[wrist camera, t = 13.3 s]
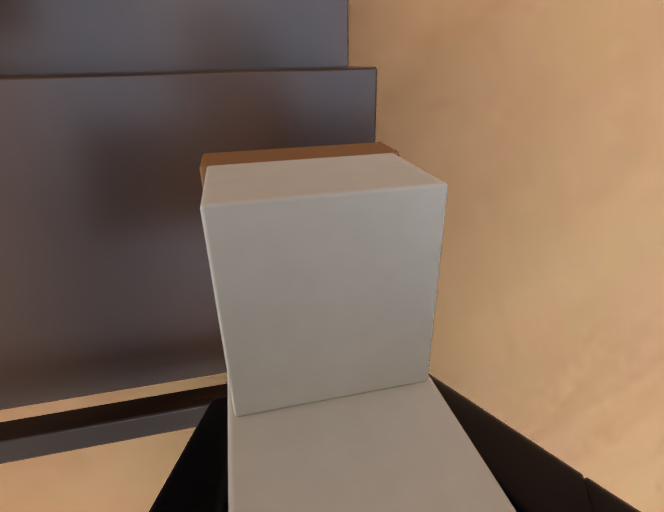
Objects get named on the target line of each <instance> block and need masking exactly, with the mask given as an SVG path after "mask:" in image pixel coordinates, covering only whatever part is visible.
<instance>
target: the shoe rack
mask: <svg viewBox="0 0 664 512" xmlns="http://www.w3.org/2000/svg"><path fill="white" fill-rule="evenodd" d="M376 90H377V68H376V67H360V66H348V0H0V410H3V409H9V408H15V407H21V406H27V405H33V404H39V403H45V402H51V401H57V400H63V399H69V398H75V397H81V396H87V395H93V394H99V393H105V392H111V391H117V390H123V389H129V388H135V387H141V386H147V385H153V384H159V383H165V382H171V381H177V380H183V379H189V378H196V377H202V376H208V375H214V374H220V373H226V372H227V367H226V361H225V355H224V349H223V343H222V337H221V331H220V325H219V319H218V313H217V307H216V301H215V295H214V289H213V283H212V277H211V271H210V265H209V259H208V253H207V247H206V241H205V235H204V229H203V223H202V217H201V211H200V205H201V199H202V194H203V187H202V181H201V174H200V165H201V160H202V156H203V154H205V153H219V152H235V151H250V150H265V149H281V148H296V147H312V146H327V145H343V144H358V143H373V142H375V132H376ZM225 395H228V384H222V385H216V386H210V387H204V388H198V389H193V390H187V391H181V392H175V393H169V394H164V395H158V396H152V397H146V398H140V399H134V400H129V401H123V402H117V403H111V404H105V405H99V406H94V407H88V408H82V409H76V410H70V411H64V412H59V413H53V414H47V415H41V416H35V417H29V418H24V419H18V420H12V421H6V422H0V464H2V463H8V462H13V461H18V460H24V459H29V458H34V457H39V456H45V455H50V454H55V453H61V452H66V451H71V450H76V449H82V448H87V447H92V446H98V445H103V444H108V443H113V442H119V441H124V440H129V439H135V438H140V437H145V436H151V435H156V434H161V433H166V432H172V431H177V430H182V429H188V428H193V427H197V426H198V424H199V422H200V420H201V419H202V417H203V415H204V413H205V411H206V410H207V408H208V406H209V404H210V403H211V401H212V400H213V399H214V398H215V397H220V396H225Z"/></svg>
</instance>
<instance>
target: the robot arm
mask: <svg viewBox="0 0 664 512" xmlns="http://www.w3.org/2000/svg"><path fill="white" fill-rule="evenodd" d="M428 375H429V377H430V378H431V380H432V381H433V383H434V384H435V386H436V387H437V389H438V391H439V392H440V394H441V395H442V397H443V398H444V400H445V401H446V403H447V405H448V406H449V408H450V409H451V411H452V412H453V414H454V415H455V417H456V419H457V420H458V422H459V423H460V425H461V426H462V428H463V429H464V431H465V433H466V434H467V436H468V437H469V439H470V440H471V442H472V443H473V445H474V447H475V448H476V450H477V451H478V453H479V454H480V456H481V457H482V459H483V461H484V462H485V464H486V465H487V467H488V468H489V470H490V471H491V473H492V475H493V476H494V478H495V479H496V481H497V482H498V484H499V485H500V487H501V489H502V490H503V492H504V493H505V495H506V496H507V498H508V499H509V501H510V503H511V504H512V506H513V507H514V509H515V510H516V512H640V511H639V510H637V509H636V508H634V507H632V506H631V505H629V504H628V503H626V502H624V501H623V500H621V499H620V498H618V497H617V496H615V495H613V494H612V493H610V492H609V491H607V490H606V489H604V488H603V487H601V486H600V485H598V484H597V483H595V482H593V481H592V480H590V479H589V478H584V477H583V475H582V474H581V473H579V472H578V471H576V470H575V469H573V468H572V467H570V466H569V465H567V464H566V463H564V462H563V461H561V460H560V459H558V458H557V457H555V456H554V455H552V454H550V453H549V452H547V451H546V450H544V449H543V448H541V447H540V446H538V445H537V444H535V443H534V442H532V441H531V440H529V439H528V438H526V437H525V436H523V435H522V434H520V433H518V432H517V431H515V430H514V429H512V428H511V427H509V426H508V425H506V424H505V423H503V422H502V421H500V420H499V419H497V418H496V417H494V416H493V415H491V414H489V413H488V412H486V411H485V410H483V409H482V408H480V407H479V406H477V405H476V404H474V403H473V402H471V401H470V400H468V399H467V398H465V397H464V396H462V395H460V394H459V393H457V392H456V391H454V390H453V389H451V388H450V387H448V386H447V385H445V384H444V383H442V382H441V381H439V380H438V379H436V378H435V377H433V376H432V375H430V374H428ZM149 512H228V395H225V396H220V397H215V398H214V399H213V400H212V401H211V403H210V404H209V406H208V408H207V410H206V411H205V413H204V415H203V417H202V419H201V420H200V422H199V424H198V426H197V427H196V429H195V431H194V433H193V435H192V436H191V438H190V440H189V442H188V443H187V445H186V447H185V449H184V450H183V452H182V454H181V456H180V458H179V459H178V461H177V463H176V465H175V466H174V468H173V470H172V472H171V474H170V475H169V477H168V479H167V481H166V482H165V484H164V486H163V488H162V489H161V491H160V493H159V495H158V497H157V498H156V500H155V502H154V504H153V505H152V507H151V509H150V511H149Z"/></svg>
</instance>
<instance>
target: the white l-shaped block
mask: <svg viewBox="0 0 664 512" xmlns="http://www.w3.org/2000/svg"><path fill="white" fill-rule="evenodd" d="M200 174H201V181H202V187H203V194H202V199H201V205H200V211H201V217H202V223H203V229H204V235H205V241H206V247H207V253H208V259H209V265H210V271H211V277H212V283H213V289H214V295H215V301H216V307H217V313H218V319H219V325H220V331H221V337H222V343H223V349H224V355H225V361H226V367H227V377H228V512H516V510H515V509H514V507H513V506H512V504H511V503H510V501H509V499H508V498H507V496H506V495H505V493H504V492H503V490H502V489H501V487H500V485H499V484H498V482H497V481H496V479H495V478H494V476H493V475H492V473H491V471H490V470H489V468H488V467H487V465H486V464H485V462H484V461H483V459H482V457H481V456H480V454H479V453H478V451H477V450H476V448H475V447H474V445H473V443H472V442H471V440H470V439H469V437H468V436H467V434H466V433H465V431H464V429H463V428H462V426H461V425H460V423H459V422H458V420H457V419H456V417H455V415H454V414H453V412H452V411H451V409H450V408H449V406H448V405H447V403H446V401H445V400H444V398H443V397H442V395H441V394H440V392H439V391H438V389H437V387H436V386H435V384H434V383H433V381H432V380H431V378H430V377H429V375H428V370H429V361H430V351H431V341H432V332H433V322H434V313H435V303H436V294H437V284H438V275H439V265H440V255H441V246H442V236H443V227H444V217H445V208H446V198H447V189H448V186H447V183H446V182H444V181H442V180H440V179H438V178H437V177H435V176H433V175H431V174H429V173H428V172H426V171H424V170H422V169H421V168H419V167H417V166H415V165H413V164H412V163H410V162H408V161H406V160H404V159H403V158H401V157H399V153H398V152H397V151H395V150H393V149H392V148H390V147H388V146H386V145H384V144H382V143H380V142H373V143H358V144H343V145H327V146H312V147H296V148H281V149H265V150H250V151H235V152H219V153H205V154H203V156H202V160H201V165H200Z"/></svg>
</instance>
